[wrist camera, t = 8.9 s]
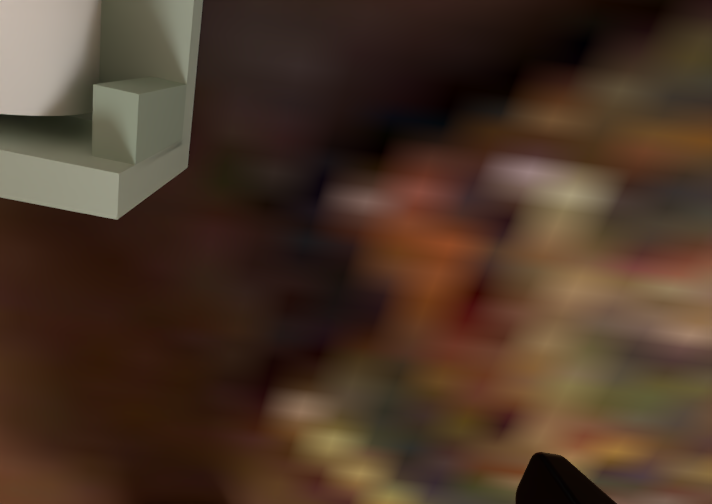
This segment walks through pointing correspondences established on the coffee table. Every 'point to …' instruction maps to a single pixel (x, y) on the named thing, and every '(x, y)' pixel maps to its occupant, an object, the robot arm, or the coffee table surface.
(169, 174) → the cradle
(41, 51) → the cylinder
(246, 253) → the coffee table surface
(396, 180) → the coffee table surface
